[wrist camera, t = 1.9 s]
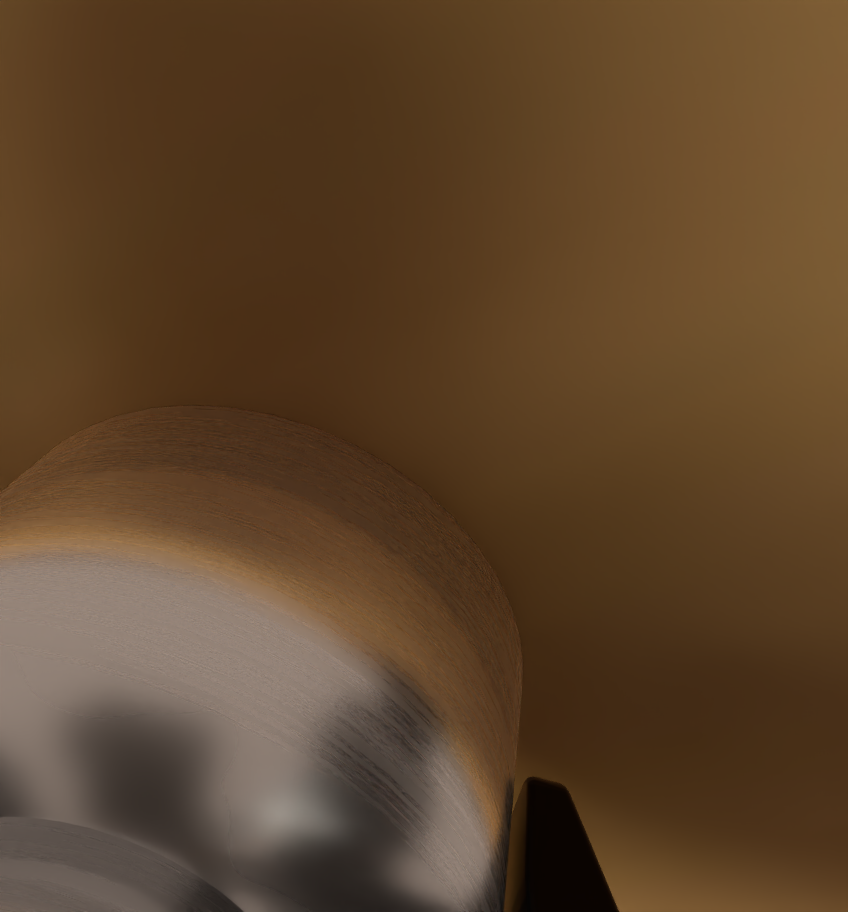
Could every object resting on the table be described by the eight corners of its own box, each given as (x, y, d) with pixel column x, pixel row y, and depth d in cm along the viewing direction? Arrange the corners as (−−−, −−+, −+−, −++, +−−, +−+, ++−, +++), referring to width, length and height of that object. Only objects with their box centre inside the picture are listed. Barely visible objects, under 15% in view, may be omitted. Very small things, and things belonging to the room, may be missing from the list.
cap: (287, 283, 7) (-135, 674, 3) (627, 743, 9) (670, 1375, 5) (-101, 554, 10) (-635, 980, 5) (232, 869, 12) (33, 1363, 7)
